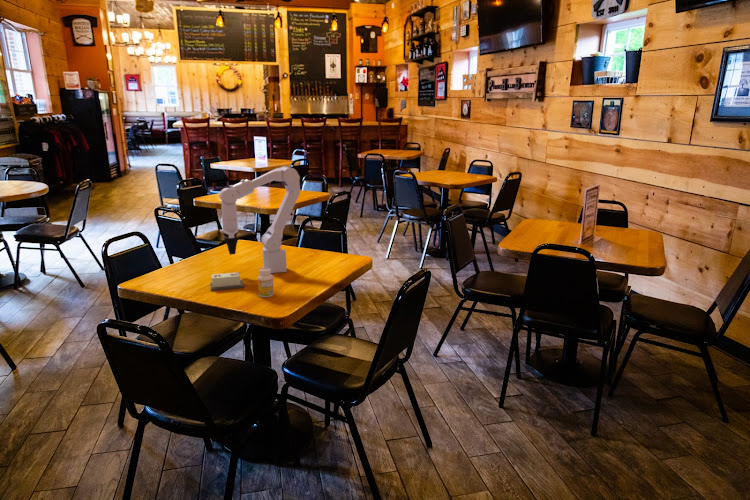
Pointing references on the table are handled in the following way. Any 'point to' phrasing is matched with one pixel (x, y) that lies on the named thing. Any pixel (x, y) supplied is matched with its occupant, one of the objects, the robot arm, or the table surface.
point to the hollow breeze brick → (225, 279)
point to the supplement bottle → (265, 283)
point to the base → (228, 286)
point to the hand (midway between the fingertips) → (231, 251)
